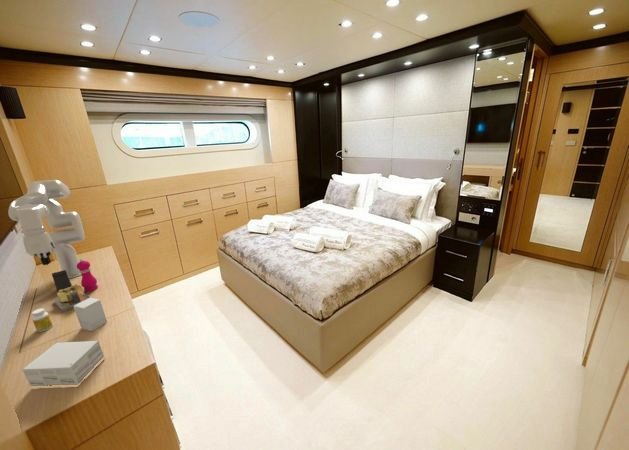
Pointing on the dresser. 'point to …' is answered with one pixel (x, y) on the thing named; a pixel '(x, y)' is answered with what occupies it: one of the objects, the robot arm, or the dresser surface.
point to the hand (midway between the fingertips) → (47, 263)
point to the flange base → (69, 305)
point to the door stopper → (61, 280)
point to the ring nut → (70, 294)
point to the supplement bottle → (41, 320)
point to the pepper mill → (87, 276)
